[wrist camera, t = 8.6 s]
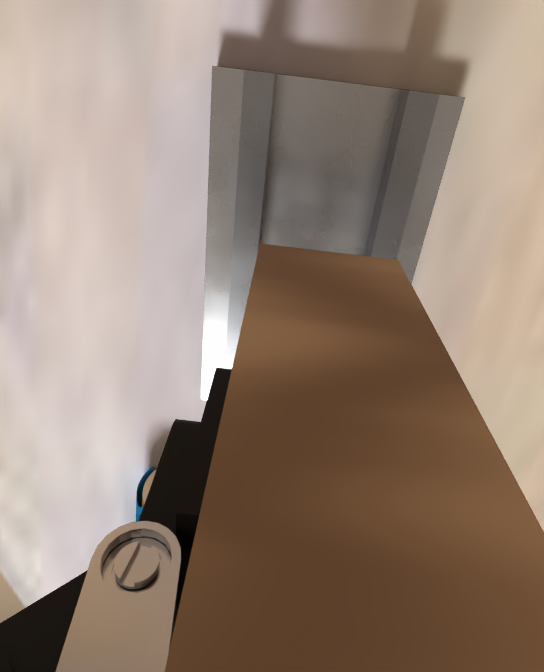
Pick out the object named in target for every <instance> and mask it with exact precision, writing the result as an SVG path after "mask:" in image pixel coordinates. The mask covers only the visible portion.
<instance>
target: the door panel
mask: <svg viewBox="0 0 544 672" xmlns="http://www.w3.org/2000/svg"><path fill="white" fill-rule="evenodd" d="M165 672H544V532H543V530H542V528H541V526H540V524H539V522H538V521H537V519H536V517H535V515H534V513H533V511H532V509H531V507H530V506H529V504H528V502H527V500H526V498H525V496H524V494H523V492H522V491H521V489H520V487H519V485H518V483H517V481H516V479H515V478H514V476H513V474H512V472H511V470H510V468H509V466H508V464H507V463H506V461H505V459H504V457H503V455H502V453H501V451H500V449H499V448H498V446H497V444H496V442H495V440H494V438H493V436H492V435H491V433H490V431H489V429H488V427H487V425H486V423H485V421H484V420H483V418H482V416H481V414H480V412H479V410H478V408H477V406H476V405H475V403H474V401H473V399H472V397H471V395H470V393H469V392H468V390H467V388H466V386H465V384H464V382H463V380H462V378H461V377H460V375H459V373H458V371H457V369H456V367H455V365H454V363H453V362H452V360H451V358H450V356H449V354H448V352H447V350H446V349H445V347H444V345H443V343H442V341H441V339H440V337H439V335H438V334H437V332H436V330H435V328H434V326H433V324H432V322H431V320H430V319H429V317H428V315H427V313H426V311H425V309H424V307H423V305H422V304H421V302H420V300H419V298H418V296H417V294H416V292H415V291H414V289H413V287H412V285H411V283H410V281H409V279H408V277H407V276H406V274H405V272H404V270H403V268H402V266H401V264H400V262H399V261H398V260H394V259H386V258H377V257H369V256H361V255H352V254H344V253H336V252H328V251H319V250H311V249H303V248H294V247H286V246H278V245H270V244H261V243H260V245H259V250H258V254H257V259H256V263H255V268H254V272H253V277H252V281H251V286H250V290H249V295H248V299H247V304H246V308H245V313H244V317H243V322H242V326H241V331H240V335H239V340H238V344H237V349H236V353H235V358H234V362H233V367H232V371H231V376H230V380H229V384H228V389H227V393H226V398H225V402H224V407H223V411H222V416H221V420H220V425H219V429H218V434H217V438H216V443H215V447H214V452H213V456H212V461H211V465H210V470H209V474H208V479H207V483H206V488H205V492H204V497H203V501H202V506H201V510H200V515H199V519H198V524H197V528H196V533H195V537H194V542H193V546H192V551H191V555H190V560H189V564H188V569H187V573H186V578H185V582H184V587H183V591H182V595H181V600H180V604H179V609H178V613H177V618H176V622H175V627H174V631H173V636H172V640H171V645H170V649H169V654H168V658H167V663H166V667H165Z"/></svg>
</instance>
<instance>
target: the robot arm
mask: <svg viewBox="0 0 544 672" xmlns="http://www.w3.org/2000/svg"><path fill="white" fill-rule="evenodd" d="M231 371H232V369H226V368H216V370H215V373H214V377H213V381H212V384H211V388H210V391H209V395H208V399H207V402H206V406H205V410H204V413H203V417H202V420H201V422H195V421H186V420H178V419H176V420H175V421H174V423H173V425H172V428H171V431H170V433H169V436H168V439H167V442H166V445H165V448H164V450H163V453H162V456H161V459H160V462H159V464H158V467H157V470H156V473H155V476H154V479H153V481H152V484H151V487H150V490H149V493H148V495H147V498H146V501H145V504H144V507H143V510H142V512H141V515H140V518H139V521H138V522H131V523H128V524H126V525H123V526H120V527H118V528H117V529H115V530H114V531H112V532H111V533H109V534H108V535H107V536H106V537H105V538H104V539H103V540H102V541H101V542H100V544H99V545H98V546H97V548H96V550H95V552H94V554H93V556H92V558H91V561H90V565H89V568H88V570H87V571H86V572H84V573H82V574H81V575H79V576H77V577H76V578H74V579H72V580H71V581H69V582H68V583H66V584H64V585H63V586H61V587H59V588H58V589H56V590H54V591H53V592H51V593H49V594H48V595H46V596H44V597H43V598H41V599H40V600H38V601H36V602H35V603H33V604H31V605H30V606H28V607H26V608H25V609H23V610H21V611H20V612H18V613H17V614H15V615H13V616H12V617H10V618H8V619H7V620H5V621H3V622H2V623H0V672H165V667H166V663H167V658H168V654H169V649H170V645H171V640H172V636H173V631H174V627H175V622H176V618H177V613H178V609H179V604H180V600H181V595H182V591H183V587H184V582H185V578H186V573H187V569H188V564H189V560H190V555H191V551H192V546H193V542H194V537H195V533H196V528H197V524H198V519H199V515H200V510H201V506H202V501H203V497H204V492H205V488H206V483H207V479H208V474H209V470H210V465H211V461H212V456H213V452H214V447H215V443H216V438H217V434H218V429H219V425H220V420H221V416H222V411H223V407H224V402H225V398H226V393H227V389H228V384H229V380H230V376H231Z"/></svg>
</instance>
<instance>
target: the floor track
mask: <svg viewBox="0 0 544 672" xmlns="http://www.w3.org/2000/svg"><path fill="white" fill-rule="evenodd" d="M464 100H465V97H457V96H449V95H441V94H435V93H427V92H419V91H411V90H402V89H393V88H385V87H377V86H369V85H361V84H353V83H345V82H338V81H330V80H322V79H314V78H306V77H298V76H290V75H282V74H275V73H267V72H259V71H251V70H242V69H234V68H226V67H218V66H212V91H211V120H210V149H209V178H208V208H207V237H206V266H205V295H204V324H203V354H202V383H201V400H207V399H208V395H209V391H210V388H211V384H212V381H213V377H214V373H215V370H216V368H226V369H232V367H233V362H234V358H235V353H236V349H237V344H238V340H239V335H240V331H241V326H242V322H243V317H244V313H245V308H246V304H247V299H248V295H249V290H250V286H251V281H252V277H253V272H254V268H255V263H256V259H257V254H258V250H259V245H260V243H261V244H270V245H278V246H286V247H294V248H303V249H311V250H319V251H328V252H336V253H344V254H352V255H361V256H369V257H377V258H386V259H394V260H398V261H399V262H400V264H401V266H402V268H403V270H404V272H405V274H406V276H407V277H408V279H409V281H410V283H412V280H413V276H414V273H415V269H416V266H417V262H418V259H419V255H420V252H421V248H422V245H423V241H424V238H425V235H426V231H427V228H428V224H429V221H430V217H431V214H432V210H433V207H434V203H435V200H436V196H437V193H438V190H439V186H440V183H441V179H442V176H443V172H444V169H445V165H446V162H447V158H448V155H449V152H450V148H451V145H452V141H453V138H454V134H455V131H456V127H457V124H458V120H459V117H460V113H461V110H462V107H463V103H464Z"/></svg>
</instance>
